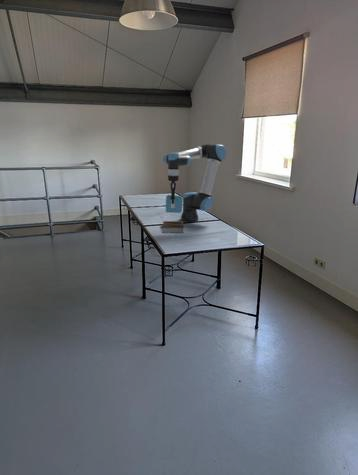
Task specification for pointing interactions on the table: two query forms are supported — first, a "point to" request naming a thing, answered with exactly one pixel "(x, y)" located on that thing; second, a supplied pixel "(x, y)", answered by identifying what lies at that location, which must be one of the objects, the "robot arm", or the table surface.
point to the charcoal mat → (172, 230)
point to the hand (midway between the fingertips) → (172, 207)
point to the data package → (177, 204)
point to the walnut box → (172, 224)
